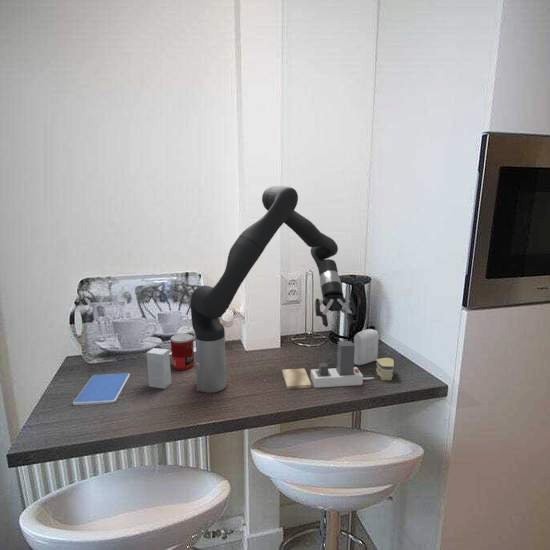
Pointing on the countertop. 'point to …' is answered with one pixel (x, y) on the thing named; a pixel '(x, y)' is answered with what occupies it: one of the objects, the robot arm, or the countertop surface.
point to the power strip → (335, 377)
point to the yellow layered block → (385, 368)
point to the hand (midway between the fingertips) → (338, 325)
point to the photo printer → (366, 346)
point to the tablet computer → (102, 389)
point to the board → (296, 378)
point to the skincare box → (159, 368)
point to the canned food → (182, 351)
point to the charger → (345, 357)
